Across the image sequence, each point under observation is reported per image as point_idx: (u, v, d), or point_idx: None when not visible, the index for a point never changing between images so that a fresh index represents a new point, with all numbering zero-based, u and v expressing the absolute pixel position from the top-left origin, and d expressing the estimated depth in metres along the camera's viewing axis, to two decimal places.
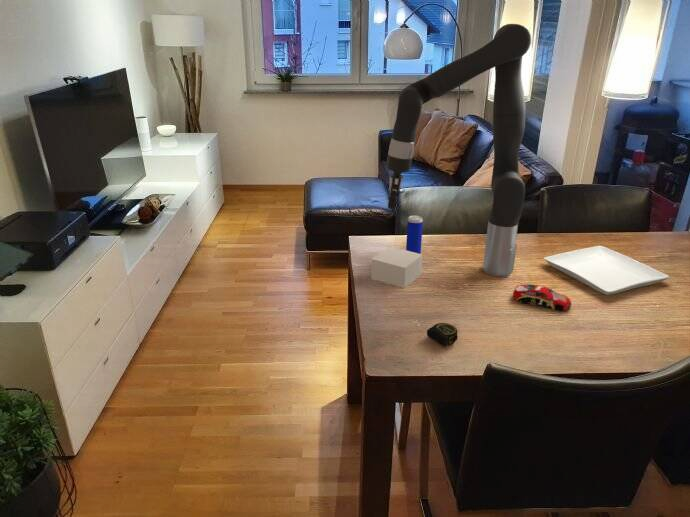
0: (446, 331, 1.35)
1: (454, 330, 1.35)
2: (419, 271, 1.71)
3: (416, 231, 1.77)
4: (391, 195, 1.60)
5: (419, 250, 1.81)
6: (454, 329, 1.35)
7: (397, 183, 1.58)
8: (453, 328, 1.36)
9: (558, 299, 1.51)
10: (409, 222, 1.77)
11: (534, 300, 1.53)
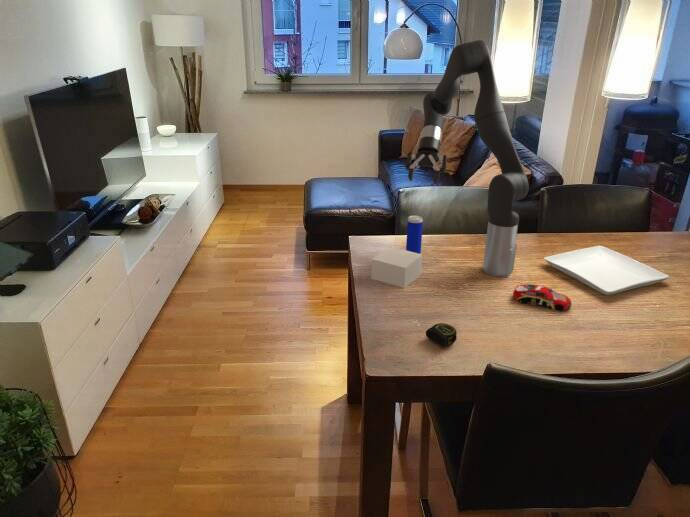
0: (445, 331, 1.35)
1: (453, 330, 1.35)
2: (419, 271, 1.71)
3: (416, 231, 1.77)
4: (405, 167, 1.88)
5: (419, 250, 1.81)
6: (453, 329, 1.35)
7: None
8: (452, 328, 1.36)
9: (559, 299, 1.51)
10: (409, 222, 1.77)
11: (534, 300, 1.53)
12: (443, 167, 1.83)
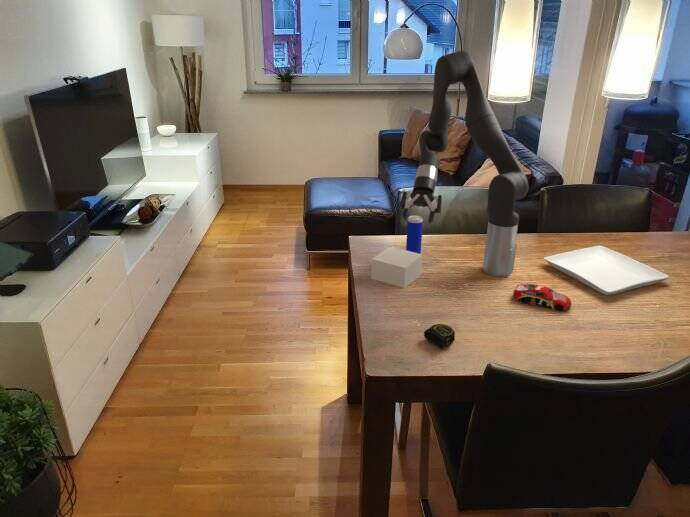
0: (443, 332, 1.34)
1: (451, 331, 1.34)
2: (419, 271, 1.71)
3: (416, 231, 1.77)
4: None
5: (419, 250, 1.81)
6: (451, 330, 1.35)
7: None
8: (450, 329, 1.36)
9: (558, 299, 1.51)
10: (409, 222, 1.77)
11: (534, 300, 1.53)
12: (438, 207, 1.82)
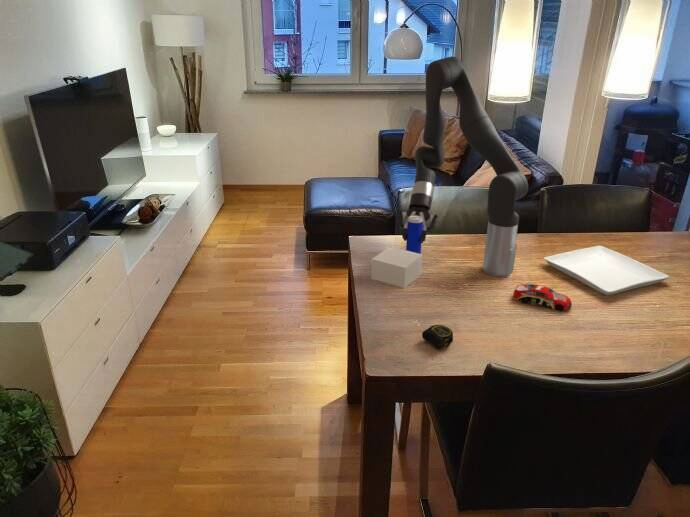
0: (441, 333, 1.34)
1: (449, 332, 1.34)
2: (419, 271, 1.71)
3: (416, 231, 1.77)
4: None
5: (419, 250, 1.81)
6: (449, 331, 1.35)
7: (399, 215, 1.84)
8: (448, 330, 1.35)
9: (559, 299, 1.51)
10: (409, 222, 1.77)
11: (534, 300, 1.53)
12: (430, 227, 1.79)
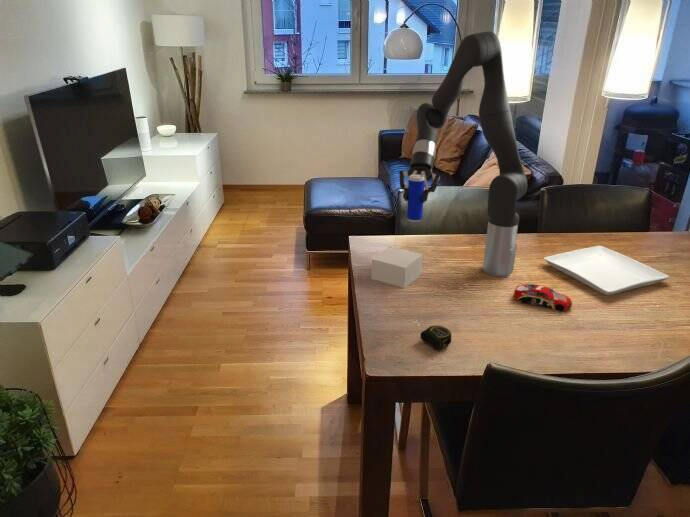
0: (439, 334, 1.34)
1: (448, 333, 1.34)
2: (419, 271, 1.71)
3: (417, 190, 1.70)
4: None
5: (421, 211, 1.74)
6: (448, 332, 1.34)
7: None
8: (447, 330, 1.35)
9: (559, 299, 1.51)
10: (410, 181, 1.70)
11: (535, 300, 1.53)
12: (432, 186, 1.72)
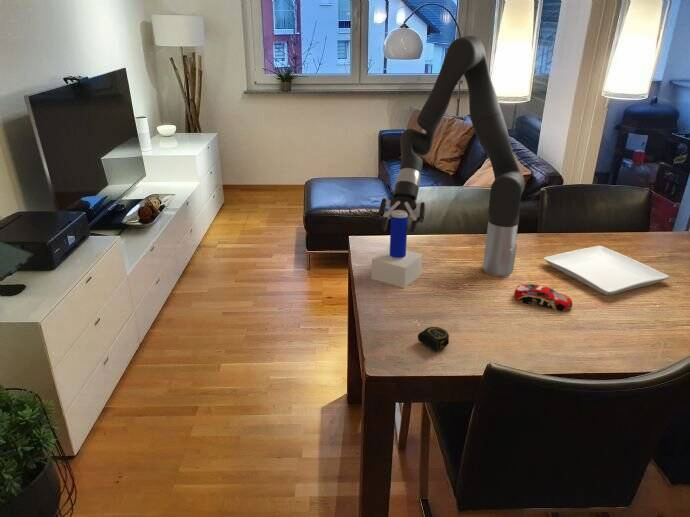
0: (437, 335, 1.33)
1: (445, 334, 1.33)
2: (419, 271, 1.71)
3: (400, 226, 1.61)
4: None
5: (404, 248, 1.65)
6: (445, 333, 1.34)
7: None
8: (444, 332, 1.34)
9: (560, 299, 1.51)
10: (392, 217, 1.61)
11: (535, 300, 1.53)
12: (420, 216, 1.62)
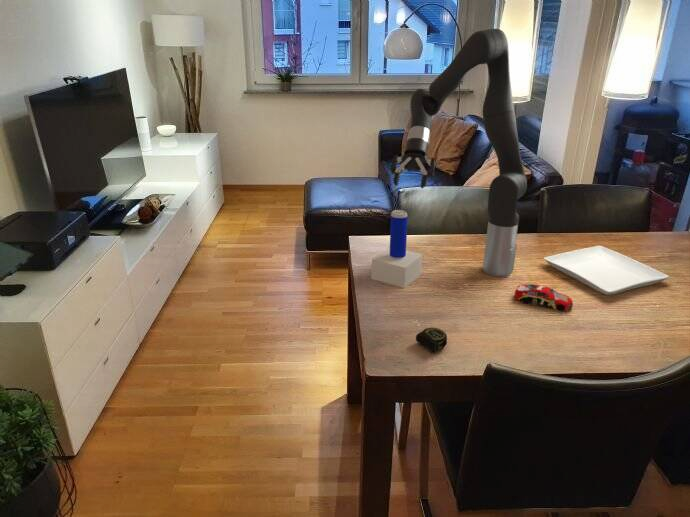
0: (435, 336, 1.33)
1: (443, 335, 1.33)
2: (419, 271, 1.71)
3: (400, 227, 1.61)
4: None
5: (404, 248, 1.65)
6: (443, 334, 1.33)
7: None
8: (442, 333, 1.34)
9: (560, 299, 1.51)
10: (392, 217, 1.61)
11: (535, 300, 1.53)
12: (431, 171, 1.69)
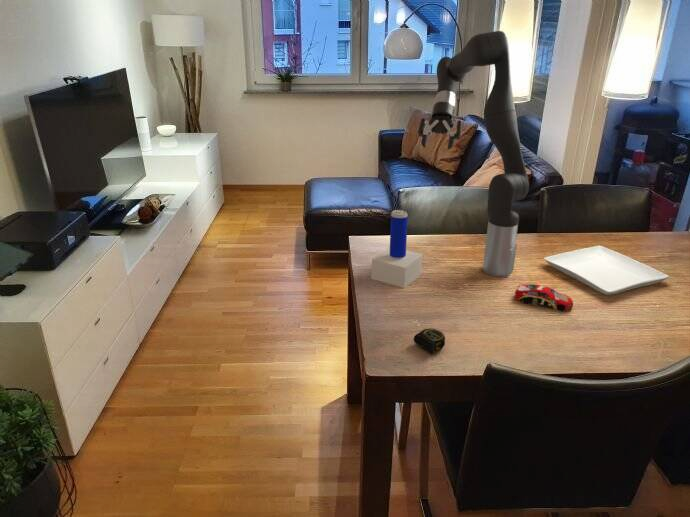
0: (433, 337, 1.32)
1: (441, 336, 1.32)
2: (419, 271, 1.71)
3: (400, 227, 1.61)
4: None
5: (404, 248, 1.65)
6: (441, 335, 1.33)
7: (421, 123, 1.83)
8: (440, 334, 1.34)
9: (560, 299, 1.51)
10: (392, 217, 1.61)
11: (536, 300, 1.53)
12: (458, 132, 1.77)
